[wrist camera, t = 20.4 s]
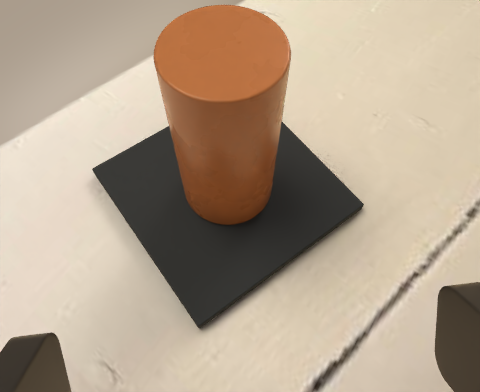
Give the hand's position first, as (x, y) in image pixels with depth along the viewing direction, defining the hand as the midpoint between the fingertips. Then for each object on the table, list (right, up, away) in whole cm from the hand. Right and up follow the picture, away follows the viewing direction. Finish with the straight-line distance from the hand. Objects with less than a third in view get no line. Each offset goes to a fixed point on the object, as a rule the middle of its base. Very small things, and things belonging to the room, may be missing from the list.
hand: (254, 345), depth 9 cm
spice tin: (-1, +4, +10) cm, 11 cm away
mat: (-1, +3, +11) cm, 11 cm away
